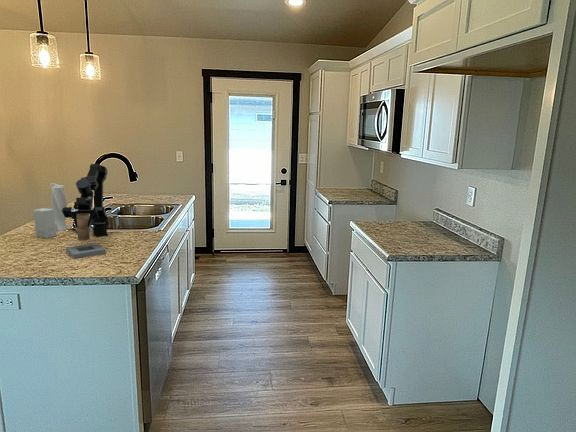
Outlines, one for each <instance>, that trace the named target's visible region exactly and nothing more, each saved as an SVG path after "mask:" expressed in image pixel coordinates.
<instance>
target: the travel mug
mask: <svg viewBox="0 0 576 432" xmlns="http://www.w3.org/2000/svg"><path fill="white" fill-rule="evenodd" d="M73 203H74V205H72V208H73V209H76V210H78V209H79V208H77V205H76V199H75V200H73ZM77 215H80V214H77ZM87 215H88V221H89V217H90V214H87ZM74 230H75V232H78V230H77V227H76V226H75V225H74ZM90 230H91V226H90V227H89V231H90Z"/></svg>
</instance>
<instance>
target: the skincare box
mask: <svg viewBox="0 0 576 432" xmlns="http://www.w3.org/2000/svg"><path fill="white" fill-rule="evenodd" d="M32 212H33V220H34V227H35V234H36V238H40V239H51V238H55V237H57V235H58V232H57V230H56V225H55V224H56V222H55V217H54V209H52V208H44V207H41V208H37V209H33V210H32Z"/></svg>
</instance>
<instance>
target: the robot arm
mask: <svg viewBox="0 0 576 432" xmlns="http://www.w3.org/2000/svg"><path fill="white" fill-rule="evenodd" d="M108 174H109V173H108V169H107V167H106V166H103V165H102V164H100V163H91V164H90V165H89V170H88V172H87V174H86V176H84V177H80V179H78V180H77V181H76V182H75V186H76V188H77V191H78V193H79V194H80V197H76V198H75V200H76V205H77V208H79V209H78V210H76V209H74V208H73V206H67V207H64V208H63V209H62V213H63V215H64V217H66V219H71V220H73V221H74V227H75V226H76V227H77V216H76V215H77V214H89V221H88V227H90V228H91V226H92V235H93V236H95V237H96V238H97V237H103V236H104V237H105V236H108V235H109V234H108V230H107V227H108V225H110V221H109V217H108V214H107V211H106V208H105V207H104V182H105V181H106V179H107V176H108ZM93 200H94V201H93ZM93 203H94V206H93Z"/></svg>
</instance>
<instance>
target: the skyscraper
mask: <svg viewBox="0 0 576 432" xmlns="http://www.w3.org/2000/svg"><path fill="white" fill-rule="evenodd" d="M52 185H53V186H52ZM49 187H50V188H51V189H50V190H51V191H52V196H51V209H54V217H55V225H56V232H61V231H68V230H69V228H68V225H67V223H66V221H67V220H66V219H67V218H66V217H64V215H63V213H62V209H63V208H64V207H68V206H67V199H66V195H65V194H64V193H65V192H64V189H65V186H64V185H61V184H58V183H49Z"/></svg>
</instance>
